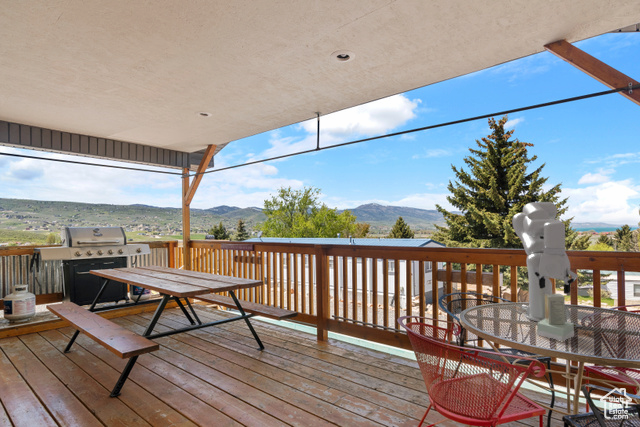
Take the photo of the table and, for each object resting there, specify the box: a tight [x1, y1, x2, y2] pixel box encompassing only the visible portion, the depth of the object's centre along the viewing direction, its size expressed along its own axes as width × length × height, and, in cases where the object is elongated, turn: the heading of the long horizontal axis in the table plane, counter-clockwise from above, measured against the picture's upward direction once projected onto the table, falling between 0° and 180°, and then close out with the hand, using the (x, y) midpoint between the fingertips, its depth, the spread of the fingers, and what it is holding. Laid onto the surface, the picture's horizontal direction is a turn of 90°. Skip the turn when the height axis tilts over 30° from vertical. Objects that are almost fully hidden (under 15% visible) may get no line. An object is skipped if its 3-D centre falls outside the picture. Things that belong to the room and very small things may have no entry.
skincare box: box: [545, 293, 566, 324], centre depth 152 cm, size 6×4×12 cm
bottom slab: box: [536, 329, 575, 342], centre depth 153 cm, size 10×10×3 cm
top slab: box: [536, 319, 575, 337], centre depth 153 cm, size 10×10×3 cm
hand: (554, 290), depth 152 cm, fingers open, 9 cm apart
